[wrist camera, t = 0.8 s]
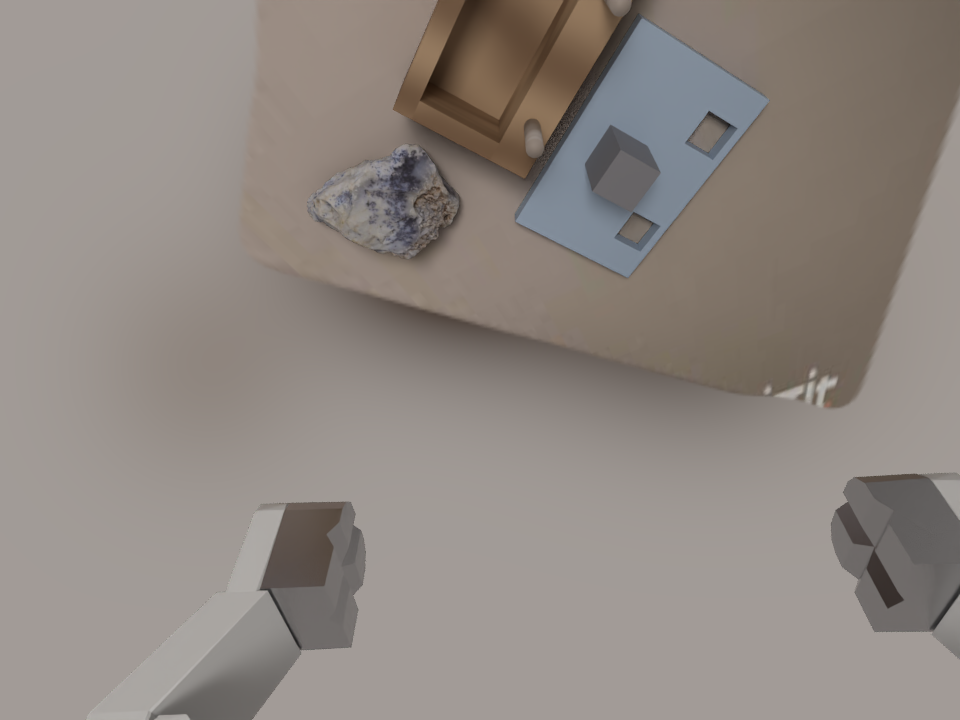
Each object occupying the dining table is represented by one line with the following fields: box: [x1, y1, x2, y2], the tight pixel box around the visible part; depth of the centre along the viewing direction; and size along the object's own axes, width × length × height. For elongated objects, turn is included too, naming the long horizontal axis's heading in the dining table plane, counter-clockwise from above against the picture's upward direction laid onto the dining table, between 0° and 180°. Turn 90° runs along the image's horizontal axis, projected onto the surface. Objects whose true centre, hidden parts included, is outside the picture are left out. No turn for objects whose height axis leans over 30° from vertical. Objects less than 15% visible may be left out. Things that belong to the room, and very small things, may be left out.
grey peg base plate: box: [515, 14, 770, 278], centre depth 42 cm, size 15×10×6 cm, turn 152°
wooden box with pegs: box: [393, 0, 632, 179], centre depth 35 cm, size 14×9×8 cm, turn 152°
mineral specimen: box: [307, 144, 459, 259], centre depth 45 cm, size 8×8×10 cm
